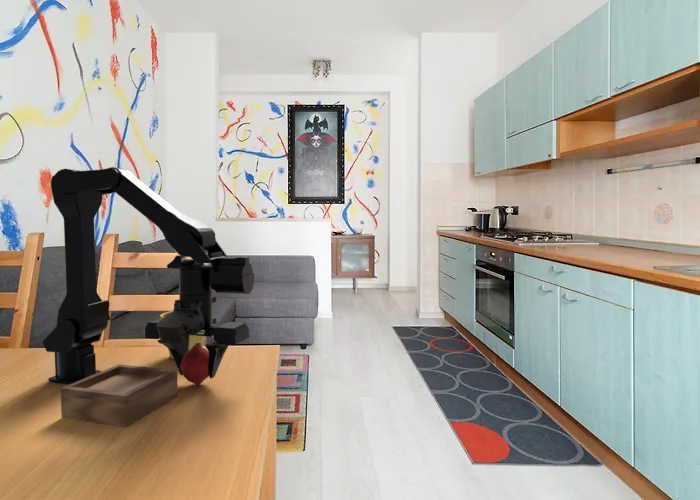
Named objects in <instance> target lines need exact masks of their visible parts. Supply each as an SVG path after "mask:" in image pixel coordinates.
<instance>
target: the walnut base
mask: <svg viewBox="0 0 700 500" xmlns="http://www.w3.org/2000/svg"><path fill="white" fill-rule="evenodd" d="M100 371H101V372H99V373H97V374H94V375H92V376H89V377H87V378H84V379H82V380H79V381H77V382H74V383H72V384H70V383H69V384H67V385H65V386H63V387H60V405H61V407H60V410H61V418H62V419H65V420H66V419H67V420H73V421H80V422H88V423H95V424H101V425H107V426H108V425H109V426H117V427H123V428H128V427H130V426H131V425H133V424H135V423H136V422H138V421H139V420H141V419H143V418H145V417H146V416H149V414H152V413H153V412H154V411H157V410H158V409H159V408H162V407H163V406H164V405H166V404H168V403H170V402H171V401H173V400H175V399H177V398H178V369H177V370H176V369H170V368H169V369H168V368H158V367H147V366H140V365H130V364H128V365H127V364H119V363H118V364H115V365H114V366H111V367H109V368H106V369H103V370H100Z"/></svg>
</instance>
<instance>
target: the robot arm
mask: <svg viewBox="0 0 700 500" xmlns="http://www.w3.org/2000/svg"><path fill="white" fill-rule="evenodd" d="M50 188H51V193H52V198H53V203H54V205H55V206H56V208H57V209H58V211H59V213H60V215H61V216H62V219H63V228H64V229H63V231H64V232H63V233H64V235H63V237H64V257H65V258H64V259H65V285H66V286H65V288H66V293H65V296H64V298H63V301H62V302H61V305H60V306H59V308H58V310H57V318H56V324H55V325H56V327H54V328H53V330H52V331H50V333H49V334H48V335H47V336H46V337H45V338H44V339H43V341H42V344H43V346H44V349H45V351H46V352H48V353H54V366H55V367H54V368H55V369H54V370H55V371H54V372H55V375H53V376H50V377H48V379H47V380H48V382H56V383H62V384H63V383H64V384H69V385H70V384H72V383H74V382H77V381H79V380H82V379H84V378H87V377H89V376H92V375H94V374H97V373H99V372H101V371H102V370H99V369H97V364H96V360H97V359H96V353H95V345H94V344H93V343H97V342H100V341H101V337H102V336H103V335H102V334H103V332H104V331H105V330H106V329H107V327H108V323H109V322H108V321H111V317H110V312H109V311H110V301H109V300H108V299H106V300H102V298H101V297H100V295H99V294H98V291H97V271H96V270H97V269H96V267H97V266H96V242H95V241H96V239H95V218H96V217H95V216H96V215H97V213H98V211H99V210H100V208H101V206H102V204H103V196H105V195H111V194H117V196H119V197H120V198H121V199H123V200H124V201H125V202H127V203H128V204H129V205H130V206H132V207H133V209H135V210H137V211H138V212H139V213H140V214H142V215H143V216H144V217H145V218H146V219H148V220H149V221H150V223H153V224H154V225H155V226H156V227H158V229H159V230H160V231H161V233H162V235H163V237H164V239H165V241H166V242H167V244H169V245H170V247H171V248H172V249H173V250H174V251H175V253H176V254H177V255H175V256H174V258H173V260H171V261H170V262H169V263H168V264H167V265H166V268H167V269H171V270H172V269H175V270H176V269H177V270H178V288H179V289H178V290H179V295H178V296H179V297H178V299H175V300H174V303H173V310H172V311H173V312H171V313H169V314H168V315H167V316H165V317H163V318H160V317H159V318H157V319H154V320H151V321H148V322H147V323H146V325H145V327H144V328H143V330H144V331H143V334H144V335H143V336H144V339H151V340H152V339H153V340H157V343H158V344H161V345H163V346H165V347H166V348H167V350H168V349H169V350H170V352H171V354H172V356H173V358H174V359H173V360H174V362H175V364H176V367H177V371H178V372H179V375H181V376H183V374H182V372H181V361H182V359H183V357H184V355H185V354H186V353H187V352H188V347H189V336H190V335H196V336H205V337H211V342H209V343H207V344H205V345H204V346H205V349H206V350H207V351H208V352H209V379H213V378H215V376H216V374H217V372H218V369H219V367H220V365H221V362H222V360H223V357H224V356H225V353H226V351H227V349H228V347H229V346H235V345H237V344H240V343H241V342H243V341H245V340H247V339H248V338H249V339H250V329H249V326H248V325H247V324H246V322H236V321H235V322H234V321H227V322H226V323H223V324H221V325H218V326H214V325H216V324H217V317H213V315H214V314H213V303H216V302H217V296H215V295H214V296H213V290H214V291H215V293H216V294H221V295H222V294H223V295H224V294H225V295H250V294H251V293H252V291H253V289H254V284H255V273H254V269H253V267H252V264H251V263H250V257H249V256H239V257H233V256H231V257H230V256H228V255H227V254H226V252H225V251H224V250H223V248H222V247H221V245H220V244H219V243H218V241H217V240H216V232H215V231H214V230H213V228H211V227H210V226H209V225H207V224H205V223H203V222H201V221H200V220H198V219H196V218H194V217H191V216H189V215H186V214H184V213H182V212H181V211H178V210H177V209H176V208H175V207H173V206H172V205H171V204H170V203H168V201H166V200H165V199H163V198H162V197H161V196H160V195H159V194H158V193H156V192H155V191H154V190H152V189H151V188H150V187H148V186H147V185H146V184H145V183H143V182H142V181H141V180H140V179H139V178H137V177H136V176H135V174H133V172H132V171H130V170H129V169H124V168H119V167H113V166H111V167H108V168H102V169H92V170H91V169H89V170H76V169H70V168H63V169H59V170H58V171H57V172H56V173H55V174H54V175H52V177H51V179H50ZM189 258H190V259H189ZM201 330H204V331H201ZM169 350H168V351H169Z"/></svg>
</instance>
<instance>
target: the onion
mask: <svg viewBox="0 0 700 500" xmlns="http://www.w3.org/2000/svg"><path fill="white" fill-rule="evenodd" d="M181 372H182V374H183V375H182V376H183V377H184V378H185V380H187V381H188V382H190V383H192V384H193V385H196V386H199V385H201V384H202V383H203V382H204V381H205V380H206V379H208V378H210V376H209V351H208V350H207V348H204V347H203V348H202V347H201V343H200V342H196V343H195V344H194V346H193V347H192V348H191V349H190V350H189V351H188V352H187V353H186V354H185V355H184V357H183V359H182V361H181Z"/></svg>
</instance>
